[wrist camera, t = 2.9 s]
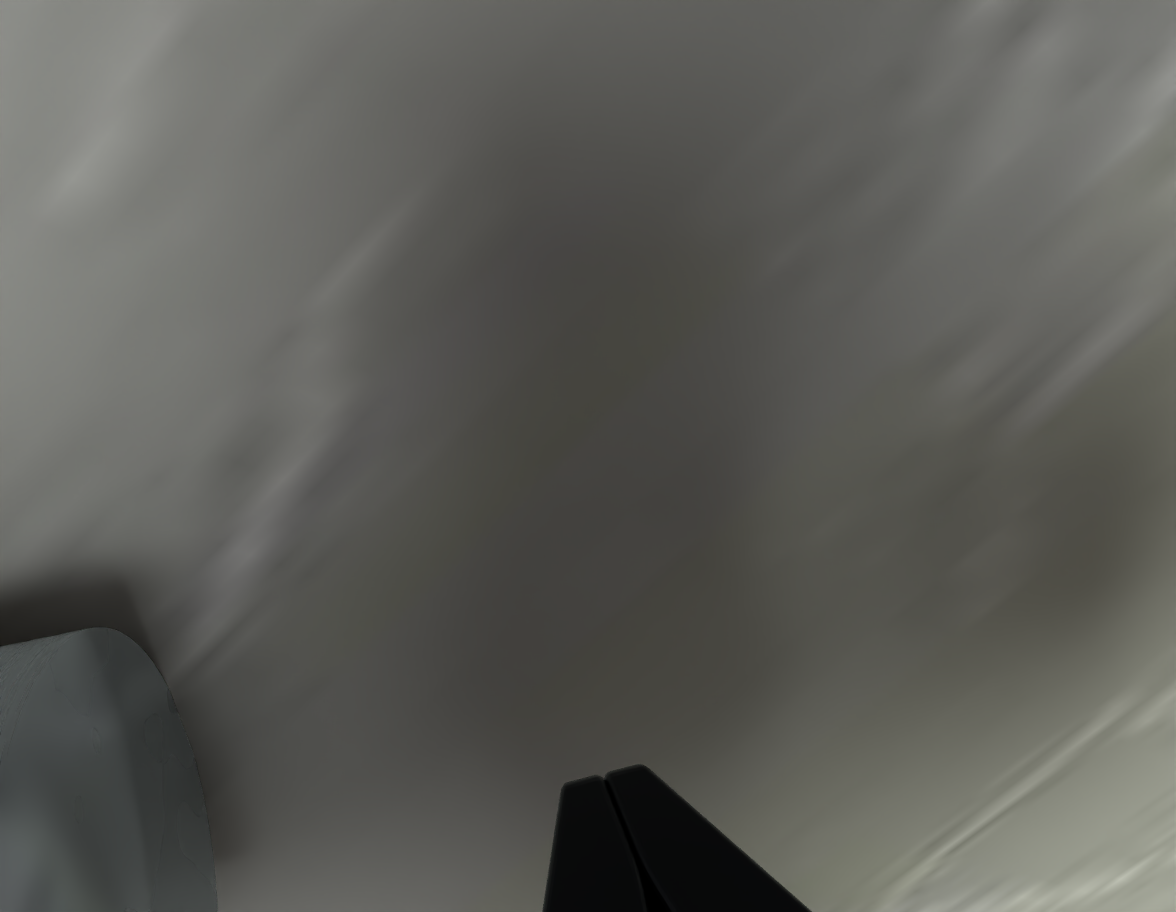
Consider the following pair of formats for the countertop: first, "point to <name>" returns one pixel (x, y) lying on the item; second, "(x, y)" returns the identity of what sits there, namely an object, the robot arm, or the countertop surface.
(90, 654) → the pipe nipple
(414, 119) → the countertop surface
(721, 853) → the robot arm
